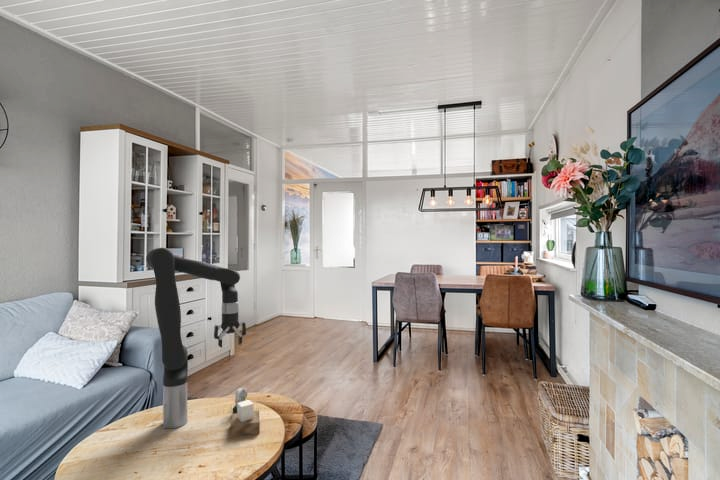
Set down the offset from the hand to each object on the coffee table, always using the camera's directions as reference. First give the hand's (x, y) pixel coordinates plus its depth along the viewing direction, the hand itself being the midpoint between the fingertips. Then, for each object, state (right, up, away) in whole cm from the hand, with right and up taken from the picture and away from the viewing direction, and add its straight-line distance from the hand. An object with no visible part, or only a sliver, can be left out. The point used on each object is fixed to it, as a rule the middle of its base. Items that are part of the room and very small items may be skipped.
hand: (230, 345), depth 177 cm
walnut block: (+14, -28, -23) cm, 39 cm away
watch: (+8, -28, -9) cm, 30 cm away
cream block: (+14, -23, -23) cm, 36 cm away
